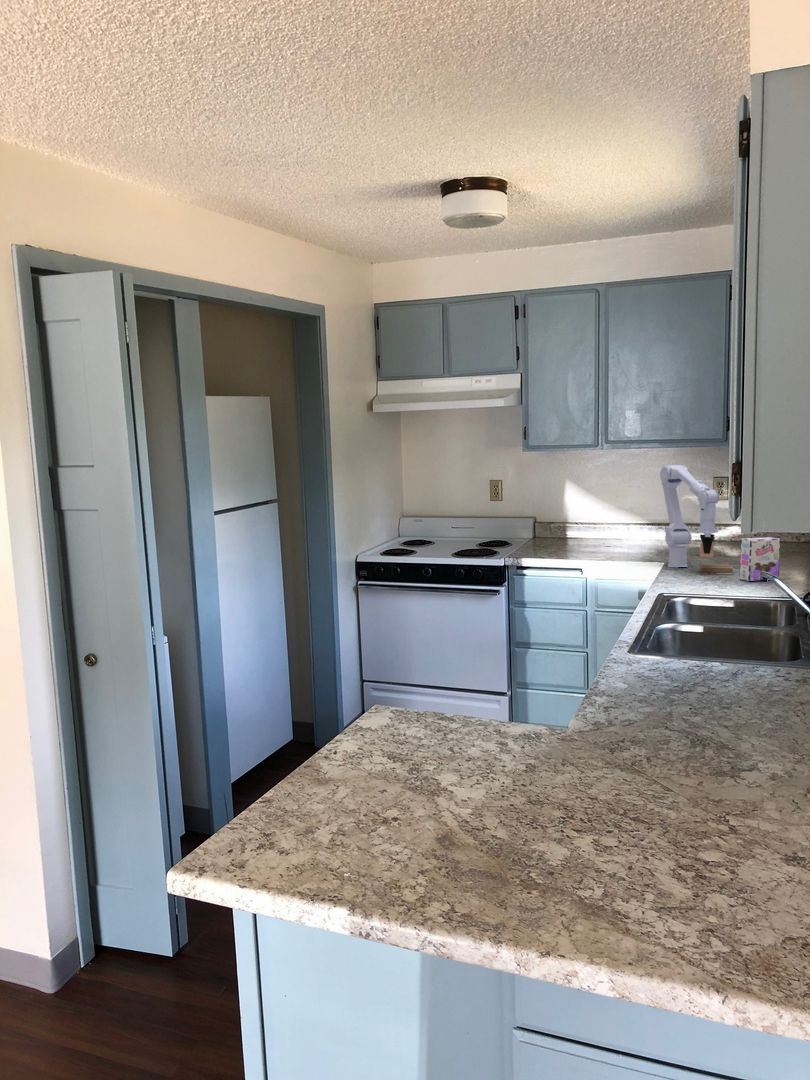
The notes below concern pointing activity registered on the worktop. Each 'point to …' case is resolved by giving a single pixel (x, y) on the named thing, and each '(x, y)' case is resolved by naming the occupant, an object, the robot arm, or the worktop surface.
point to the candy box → (759, 557)
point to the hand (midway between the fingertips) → (706, 552)
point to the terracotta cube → (703, 551)
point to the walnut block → (716, 568)
